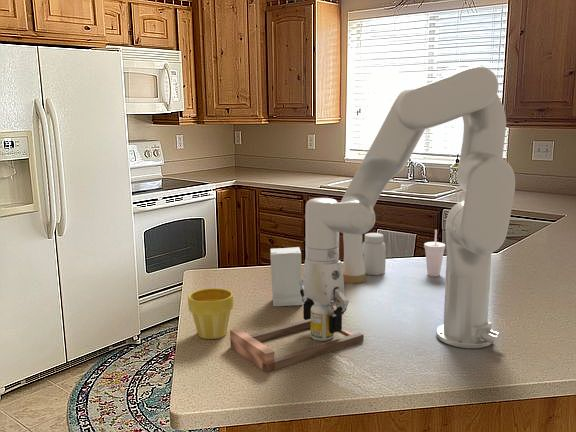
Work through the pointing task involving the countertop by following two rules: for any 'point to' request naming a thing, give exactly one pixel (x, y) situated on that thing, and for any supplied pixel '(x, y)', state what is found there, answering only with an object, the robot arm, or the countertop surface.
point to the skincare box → (286, 276)
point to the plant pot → (211, 311)
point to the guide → (265, 356)
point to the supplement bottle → (320, 322)
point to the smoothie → (434, 256)
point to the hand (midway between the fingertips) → (322, 324)
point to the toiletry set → (363, 256)
